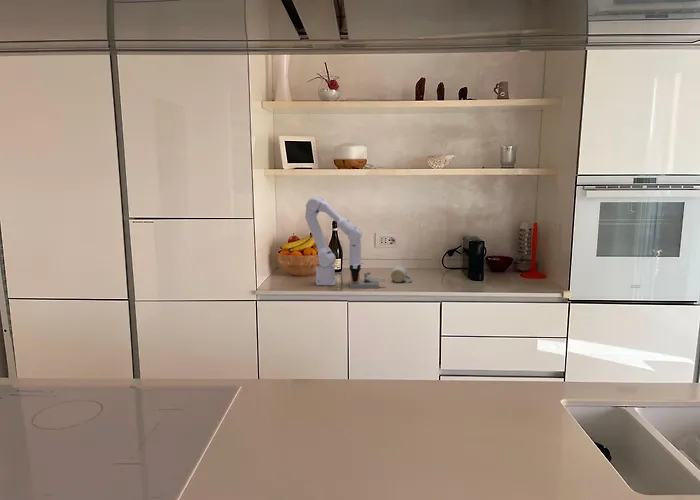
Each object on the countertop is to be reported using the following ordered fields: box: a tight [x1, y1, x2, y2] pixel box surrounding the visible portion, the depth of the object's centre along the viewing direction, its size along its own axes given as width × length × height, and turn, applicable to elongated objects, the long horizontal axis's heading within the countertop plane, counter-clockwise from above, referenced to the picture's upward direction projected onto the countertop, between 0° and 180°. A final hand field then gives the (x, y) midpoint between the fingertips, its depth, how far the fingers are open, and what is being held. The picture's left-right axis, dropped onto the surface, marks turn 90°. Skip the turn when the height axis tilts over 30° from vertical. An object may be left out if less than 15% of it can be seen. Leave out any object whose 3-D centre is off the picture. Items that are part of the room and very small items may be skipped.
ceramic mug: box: [390, 265, 413, 283], centre depth 265 cm, size 11×8×8 cm
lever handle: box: [363, 271, 386, 283], centre depth 254 cm, size 5×10×4 cm, turn 65°
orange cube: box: [350, 272, 361, 282], centre depth 256 cm, size 4×4×4 cm
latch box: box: [349, 279, 380, 289], centre depth 255 cm, size 14×11×2 cm
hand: (355, 280), depth 256 cm, fingers closed on orange cube, 4 cm apart
